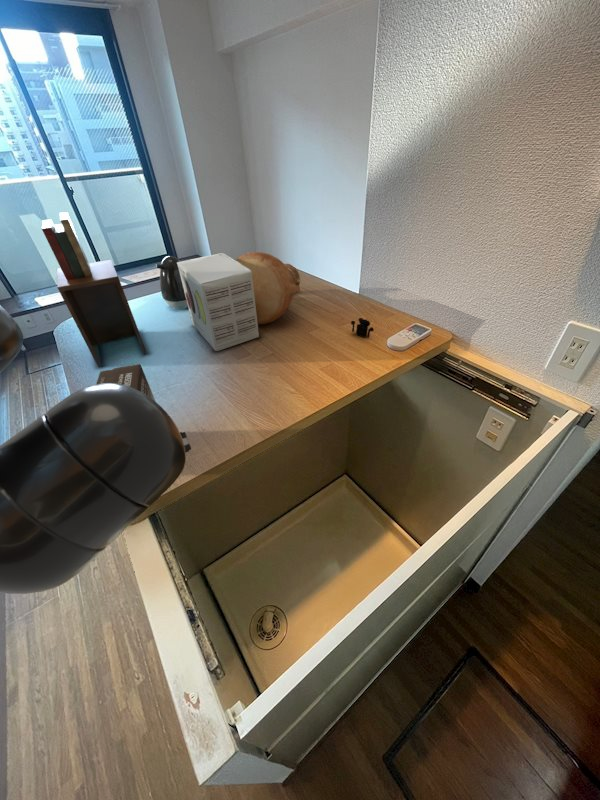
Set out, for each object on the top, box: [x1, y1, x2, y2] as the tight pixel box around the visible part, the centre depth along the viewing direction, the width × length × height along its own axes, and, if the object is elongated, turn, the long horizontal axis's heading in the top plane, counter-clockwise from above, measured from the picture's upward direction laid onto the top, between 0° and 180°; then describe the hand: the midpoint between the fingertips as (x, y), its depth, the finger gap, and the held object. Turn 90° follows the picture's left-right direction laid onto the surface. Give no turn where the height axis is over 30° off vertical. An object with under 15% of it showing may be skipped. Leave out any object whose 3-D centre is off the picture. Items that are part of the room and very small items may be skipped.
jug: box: [234, 251, 301, 325], centre depth 97 cm, size 20×19×30 cm
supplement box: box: [177, 252, 260, 352], centre depth 86 cm, size 17×13×18 cm
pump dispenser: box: [155, 255, 188, 310], centre depth 100 cm, size 10×10×15 cm
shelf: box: [41, 211, 148, 368], centre depth 76 cm, size 12×13×31 cm
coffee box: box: [96, 363, 157, 402], centre depth 54 cm, size 9×6×16 cm
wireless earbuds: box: [350, 317, 375, 339], centre depth 88 cm, size 7×2×5 cm, turn 50°
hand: (145, 457), depth 48 cm, fingers closed
